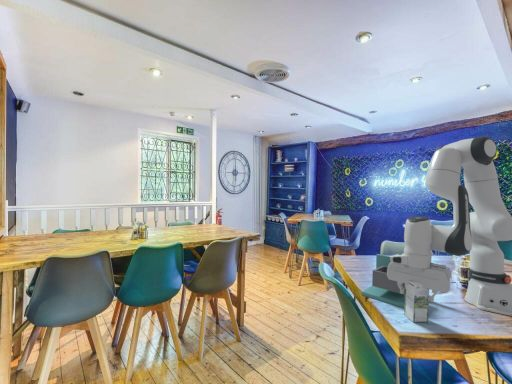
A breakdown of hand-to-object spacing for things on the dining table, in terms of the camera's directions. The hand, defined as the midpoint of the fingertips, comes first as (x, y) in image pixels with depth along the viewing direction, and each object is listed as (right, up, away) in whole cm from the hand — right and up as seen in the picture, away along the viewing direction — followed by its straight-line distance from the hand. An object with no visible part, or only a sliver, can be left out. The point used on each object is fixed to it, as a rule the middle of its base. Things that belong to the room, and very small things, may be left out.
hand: (416, 297), depth 99 cm
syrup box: (0, -8, 0) cm, 8 cm away
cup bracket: (+2, -8, +21) cm, 23 cm away
